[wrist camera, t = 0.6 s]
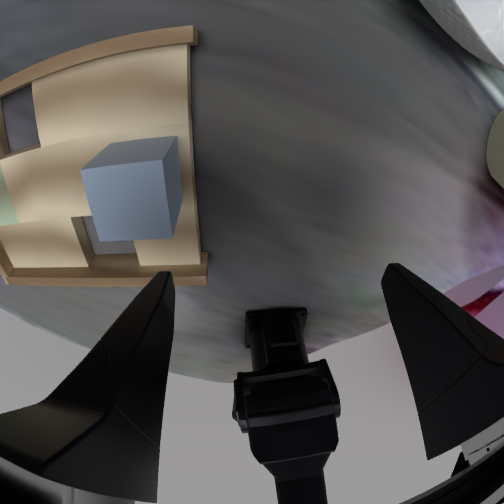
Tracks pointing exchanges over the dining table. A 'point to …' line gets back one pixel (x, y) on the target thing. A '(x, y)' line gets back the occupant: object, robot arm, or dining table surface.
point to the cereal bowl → (473, 26)
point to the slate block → (135, 189)
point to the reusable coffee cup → (496, 149)
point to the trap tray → (85, 149)
